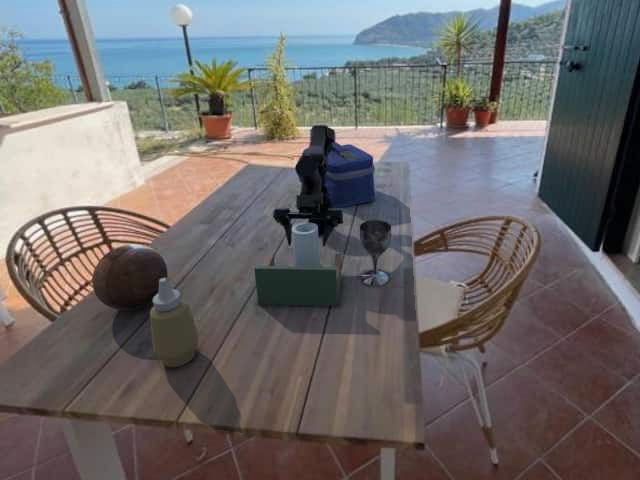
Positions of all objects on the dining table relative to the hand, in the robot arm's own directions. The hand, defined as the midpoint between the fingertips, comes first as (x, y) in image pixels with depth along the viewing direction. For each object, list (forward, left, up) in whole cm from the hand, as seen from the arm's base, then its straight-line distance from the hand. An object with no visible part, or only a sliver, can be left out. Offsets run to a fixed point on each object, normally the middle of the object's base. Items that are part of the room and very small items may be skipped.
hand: (306, 245), depth 104 cm
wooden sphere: (+35, -22, -8) cm, 42 cm away
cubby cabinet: (+8, +5, -7) cm, 12 cm away
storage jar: (0, 0, -7) cm, 7 cm away
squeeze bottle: (+38, +2, -8) cm, 39 cm away
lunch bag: (-50, -29, -8) cm, 58 cm away
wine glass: (-8, +17, -8) cm, 20 cm away
